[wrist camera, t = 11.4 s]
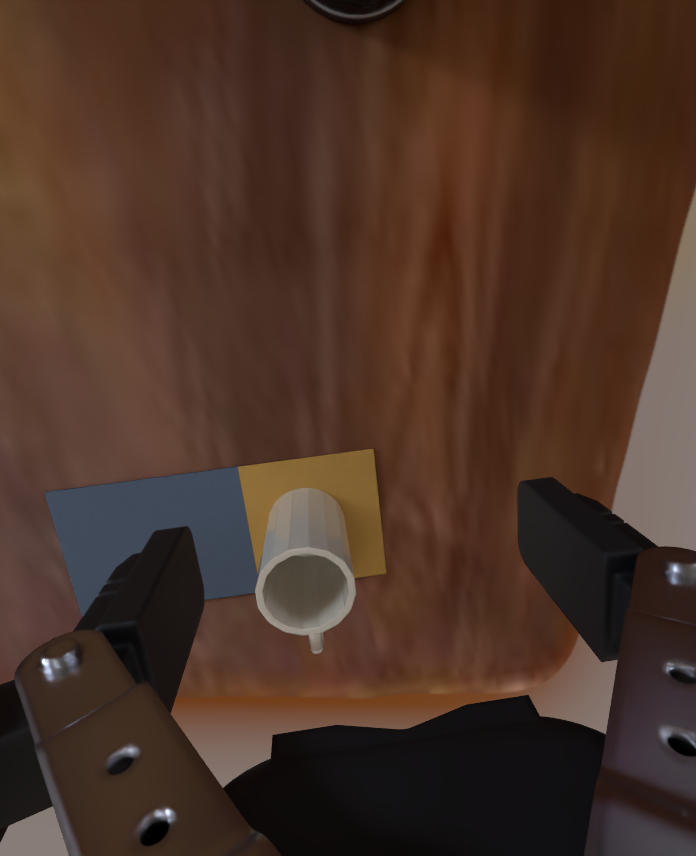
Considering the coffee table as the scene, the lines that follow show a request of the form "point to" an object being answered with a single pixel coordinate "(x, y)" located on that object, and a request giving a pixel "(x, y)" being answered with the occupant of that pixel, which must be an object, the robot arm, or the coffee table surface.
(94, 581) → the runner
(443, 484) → the coffee table surface
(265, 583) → the mug
